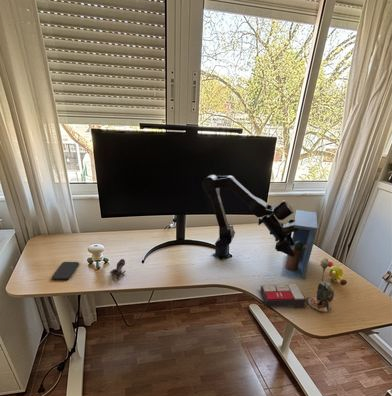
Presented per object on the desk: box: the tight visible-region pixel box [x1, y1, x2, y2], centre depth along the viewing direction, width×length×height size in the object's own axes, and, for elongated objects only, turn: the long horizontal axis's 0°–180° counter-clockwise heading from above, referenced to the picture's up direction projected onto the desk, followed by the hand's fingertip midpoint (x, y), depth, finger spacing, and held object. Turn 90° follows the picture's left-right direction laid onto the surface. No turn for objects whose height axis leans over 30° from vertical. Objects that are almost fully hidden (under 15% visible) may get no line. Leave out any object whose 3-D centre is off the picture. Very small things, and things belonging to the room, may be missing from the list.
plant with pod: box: [306, 257, 335, 313], centre depth 107 cm, size 8×11×20 cm
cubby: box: [283, 209, 319, 280], centre depth 133 cm, size 9×21×24 cm, turn 162°
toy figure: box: [327, 261, 348, 286], centre depth 128 cm, size 18×6×7 cm, turn 178°
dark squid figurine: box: [109, 258, 126, 281], centre depth 127 cm, size 8×7×9 cm
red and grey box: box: [259, 283, 307, 308], centre depth 115 cm, size 11×4×15 cm
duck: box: [284, 241, 306, 270], centre depth 135 cm, size 7×6×14 cm
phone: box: [51, 261, 80, 281], centre depth 129 cm, size 7×1×15 cm
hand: (294, 252), depth 134 cm, fingers open, 9 cm apart
